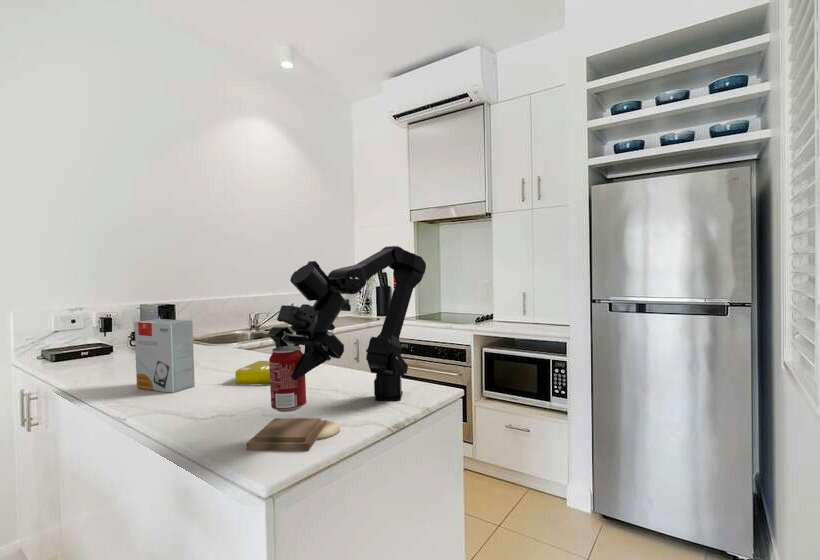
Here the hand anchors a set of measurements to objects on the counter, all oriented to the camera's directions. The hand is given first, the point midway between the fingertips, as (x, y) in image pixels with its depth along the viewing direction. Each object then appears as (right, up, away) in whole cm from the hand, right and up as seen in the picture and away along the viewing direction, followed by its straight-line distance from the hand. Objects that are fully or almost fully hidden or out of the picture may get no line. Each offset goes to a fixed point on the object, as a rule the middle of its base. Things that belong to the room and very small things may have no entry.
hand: (282, 376), depth 82 cm
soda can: (+1, -7, +1) cm, 7 cm away
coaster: (+6, -12, +4) cm, 14 cm away
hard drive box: (-47, -13, +41) cm, 64 cm away
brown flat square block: (+1, -12, +1) cm, 13 cm away
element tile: (-19, -13, +49) cm, 54 cm away
